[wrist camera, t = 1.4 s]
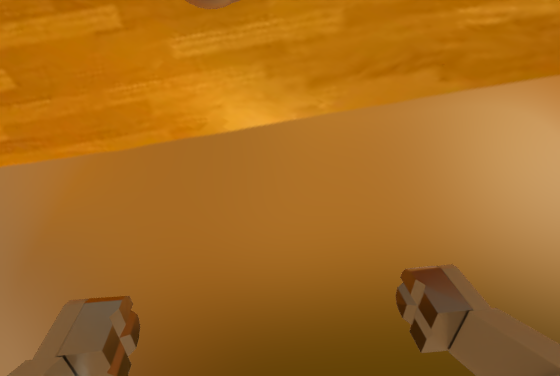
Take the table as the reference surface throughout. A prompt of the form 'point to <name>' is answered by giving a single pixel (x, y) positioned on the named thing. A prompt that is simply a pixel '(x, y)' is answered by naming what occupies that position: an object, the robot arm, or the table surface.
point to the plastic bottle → (211, 3)
